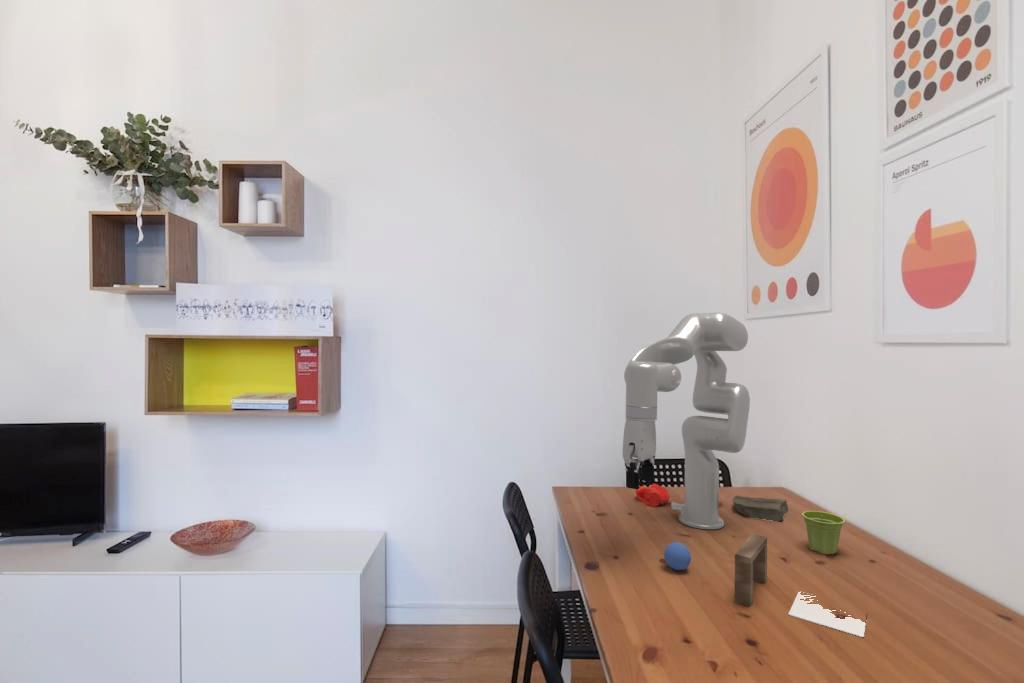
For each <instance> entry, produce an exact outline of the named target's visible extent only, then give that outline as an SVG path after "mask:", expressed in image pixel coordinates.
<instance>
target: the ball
mask: <svg viewBox="0 0 1024 683" xmlns="http://www.w3.org/2000/svg"><path fill="white" fill-rule="evenodd" d="M663 557H664V560H665V563H666V564H667V566H669V567H670V568H671V569H673V570H676V571H682V570H683V571H684V570H685V569H687V568H688V567H689V566H690V564H691V562H692V554H691V552H690V550H689V548H688V547H687V546H686V545H685V544H683V543H682V542H677V541H675V542H670V543H669V544H667V545H666V547H665V549H664V551H663Z"/></svg>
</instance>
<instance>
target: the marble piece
mask: <svg viewBox="0 0 1024 683" xmlns="http://www.w3.org/2000/svg"><path fill="white" fill-rule="evenodd" d="M732 500H733V501H732V502H733V506H734V508H735V510H736V511H737V513H738V512H739V513H738V514H740V513H741V514H740V515H742V514H744V515H743V516H745V515H747V516H749V517H751V518H759V519H766V520H773V521H779V522H782V521H784V519H783V516H784V517H785V515H784V514H785V513H787V511H788V512H789V506H788V504H787V500H785V499H781V498H780V499H779V498H768V497H749V496H741V495H735V496H734V497H733V498H732ZM787 514H788V513H787ZM747 516H746V517H747ZM749 517H748V518H749ZM751 518H750V519H751ZM759 519H758V520H759ZM773 521H772V522H773Z"/></svg>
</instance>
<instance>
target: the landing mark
mask: <svg viewBox="0 0 1024 683" xmlns="http://www.w3.org/2000/svg"><path fill="white" fill-rule="evenodd" d="M801 592H803V591H800V592H799V591H798V592H797V595H796V596H795V599H794V600H793V603H792V605H791V607H790V610H789V612H788V616H791V617H793V618H796V619H800V620H804V621H807V622H809V623H813V624H815V625H816V624H817V625H820V626H822V625H823V626H822V627H826V626H827V628H830V629H832V628H833V630H835V629H836V631H839V630H840V631H839V632H842V631H843V633H845V632H846V634H848V633H849V634H848V635H852V634H853V635H852V636H855V635H856V636H855V637H858V636H859V637H858V638H861V637H864V638H865V634H864V633H865V632H866V627H865V626H867V622H866V623H865V622H862V621H861V620H860V619H854V618H852V617H845V619H840V618H835V617H836V616H835V615H834V614H832V613H830V612H832V611H836V610H832V611H831V610H829V609H823V607H822V606H821V605H819V604H807V603H810V602H813V601H812V600H814V599H809V600H810V601H804V600H805V599H806V598H811V597H816V596H817V595H815V596H810V595H801V594H800V593H801ZM803 593H805V592H803ZM804 596H810V597H804ZM800 599H804V600H800ZM817 601H818V600H817ZM840 611H841V610H840ZM844 613H846V612H844ZM848 616H851V615H848Z"/></svg>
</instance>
